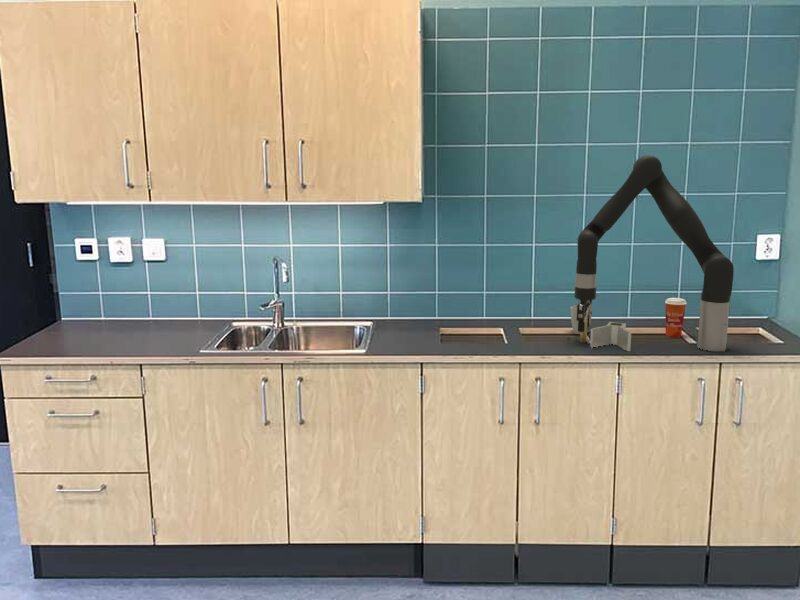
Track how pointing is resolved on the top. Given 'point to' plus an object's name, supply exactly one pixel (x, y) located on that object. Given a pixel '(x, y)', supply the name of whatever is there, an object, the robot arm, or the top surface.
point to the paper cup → (674, 316)
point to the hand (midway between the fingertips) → (583, 329)
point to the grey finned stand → (611, 336)
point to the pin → (584, 334)
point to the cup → (574, 321)
